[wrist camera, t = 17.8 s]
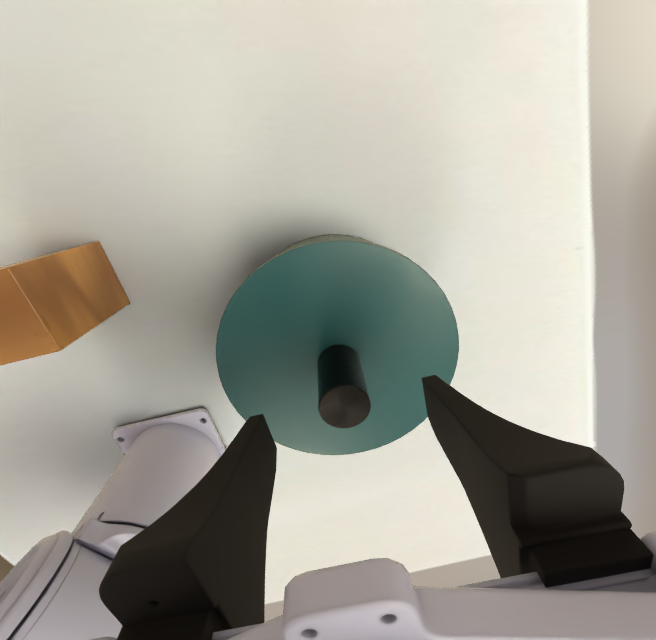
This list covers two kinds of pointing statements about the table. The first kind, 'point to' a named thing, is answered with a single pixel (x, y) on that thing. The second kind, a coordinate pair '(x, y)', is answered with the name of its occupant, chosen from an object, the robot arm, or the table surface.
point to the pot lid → (336, 345)
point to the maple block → (55, 300)
